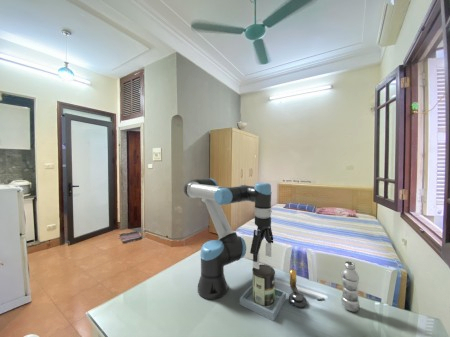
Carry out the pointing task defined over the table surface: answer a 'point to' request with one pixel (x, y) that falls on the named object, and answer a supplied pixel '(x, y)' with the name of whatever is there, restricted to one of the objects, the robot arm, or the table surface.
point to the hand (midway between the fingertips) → (262, 261)
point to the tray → (269, 312)
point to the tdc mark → (320, 299)
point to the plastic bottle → (350, 287)
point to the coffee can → (264, 286)
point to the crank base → (298, 304)
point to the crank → (295, 295)
